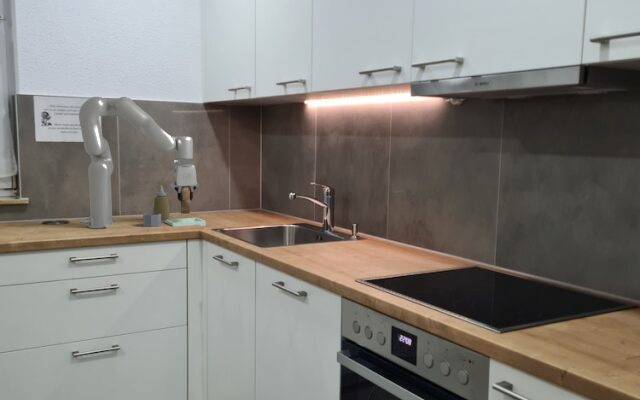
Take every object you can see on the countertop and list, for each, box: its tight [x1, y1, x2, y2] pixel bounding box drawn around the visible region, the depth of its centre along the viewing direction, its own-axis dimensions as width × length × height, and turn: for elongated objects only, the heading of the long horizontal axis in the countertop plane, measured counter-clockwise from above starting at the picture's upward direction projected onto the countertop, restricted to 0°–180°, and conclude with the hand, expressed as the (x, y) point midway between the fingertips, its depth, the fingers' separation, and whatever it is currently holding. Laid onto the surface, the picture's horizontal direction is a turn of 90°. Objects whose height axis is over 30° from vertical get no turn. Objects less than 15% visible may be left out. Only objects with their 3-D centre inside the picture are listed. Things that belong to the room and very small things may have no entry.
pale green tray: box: [164, 217, 207, 227], centre depth 280 cm, size 16×12×2 cm
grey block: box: [142, 212, 162, 228], centre depth 271 cm, size 8×8×6 cm
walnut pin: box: [180, 186, 191, 215], centre depth 279 cm, size 4×4×13 cm
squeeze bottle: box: [152, 185, 171, 221], centre depth 291 cm, size 8×8×18 cm
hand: (185, 199), depth 279 cm, fingers closed on walnut pin, 4 cm apart
